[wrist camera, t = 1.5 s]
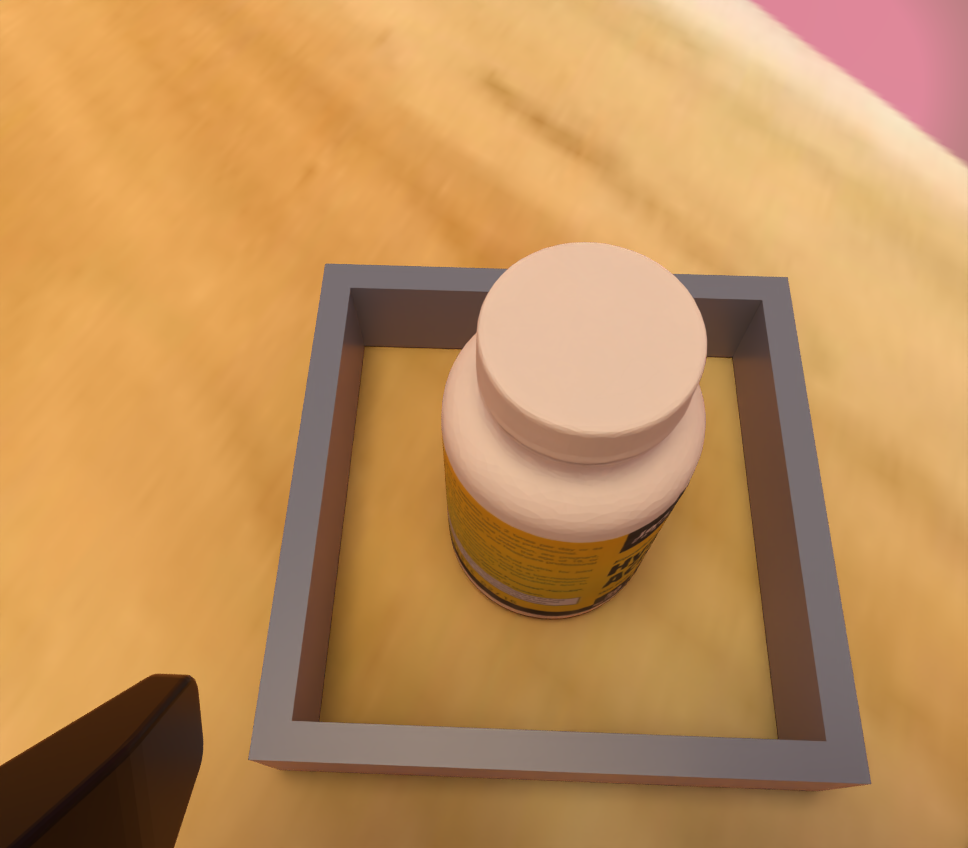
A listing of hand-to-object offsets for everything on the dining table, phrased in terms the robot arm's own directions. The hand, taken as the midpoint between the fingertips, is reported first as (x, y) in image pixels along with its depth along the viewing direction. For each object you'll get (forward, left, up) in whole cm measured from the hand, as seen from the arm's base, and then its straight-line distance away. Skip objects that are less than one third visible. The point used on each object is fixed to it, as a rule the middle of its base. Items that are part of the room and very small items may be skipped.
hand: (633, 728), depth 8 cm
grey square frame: (+6, -3, -13) cm, 14 cm away
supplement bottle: (+6, -3, -13) cm, 14 cm away
